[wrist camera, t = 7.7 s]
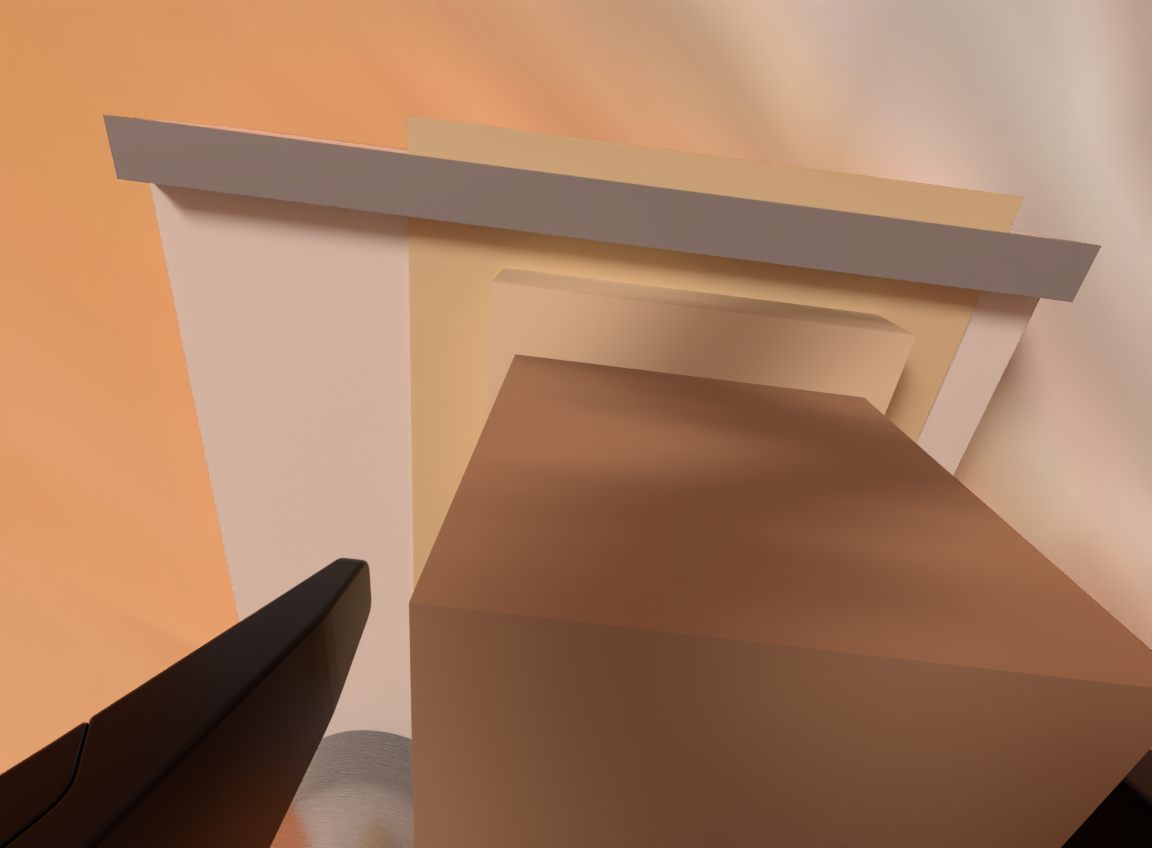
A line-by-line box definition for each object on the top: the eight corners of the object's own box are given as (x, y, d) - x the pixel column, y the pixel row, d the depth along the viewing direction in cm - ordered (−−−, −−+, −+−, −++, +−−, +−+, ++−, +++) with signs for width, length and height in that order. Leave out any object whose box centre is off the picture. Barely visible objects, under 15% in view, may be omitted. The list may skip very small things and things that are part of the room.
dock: (978, 195, 10) (1120, 208, 8) (737, 788, 18) (762, 900, 16) (233, 96, 10) (93, 72, 7) (320, 742, 18) (269, 848, 15)
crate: (876, 314, 9) (1373, 583, 3) (738, 694, 13) (850, 1116, 7) (504, 267, 9) (335, 459, 3) (481, 665, 13) (388, 1071, 7)
